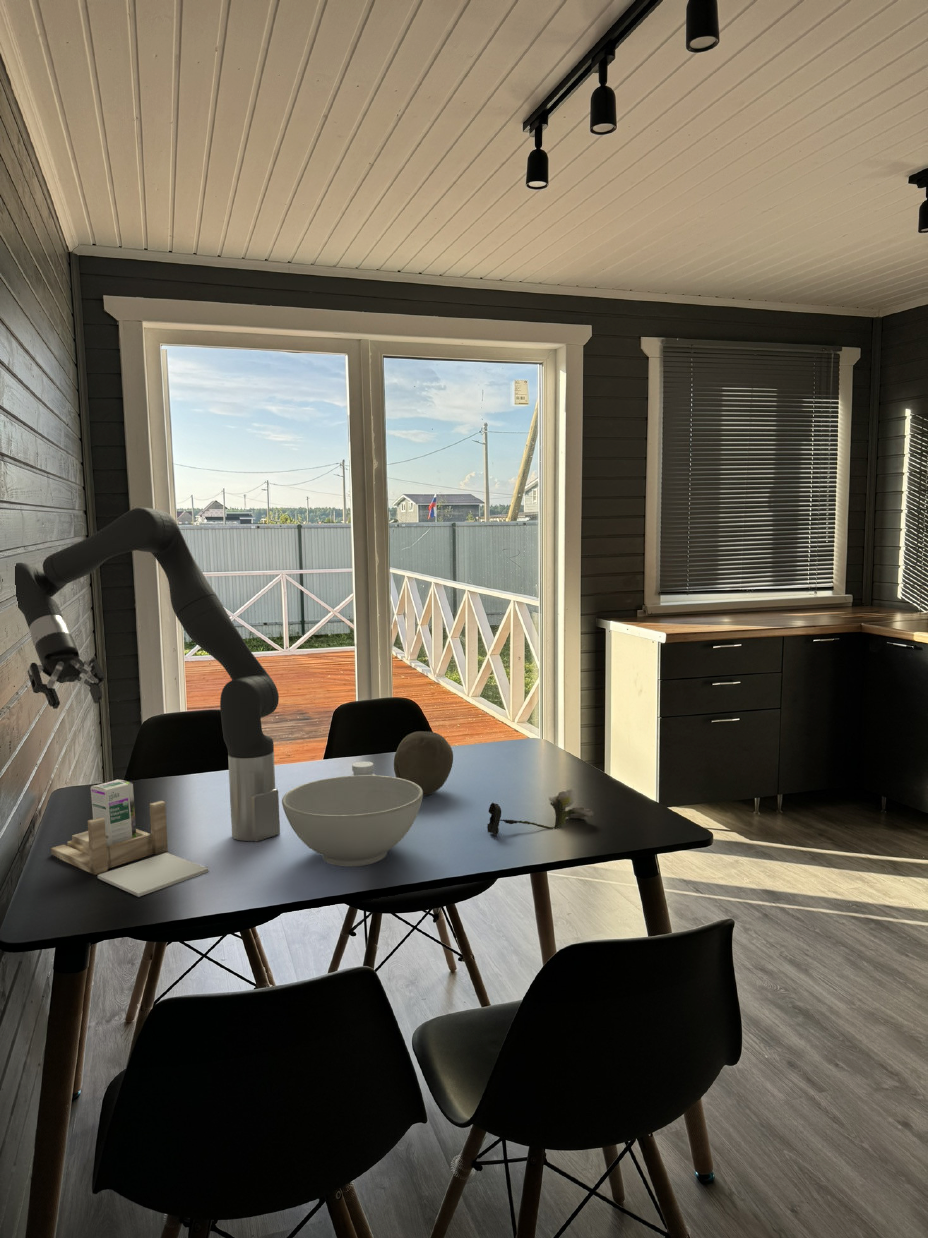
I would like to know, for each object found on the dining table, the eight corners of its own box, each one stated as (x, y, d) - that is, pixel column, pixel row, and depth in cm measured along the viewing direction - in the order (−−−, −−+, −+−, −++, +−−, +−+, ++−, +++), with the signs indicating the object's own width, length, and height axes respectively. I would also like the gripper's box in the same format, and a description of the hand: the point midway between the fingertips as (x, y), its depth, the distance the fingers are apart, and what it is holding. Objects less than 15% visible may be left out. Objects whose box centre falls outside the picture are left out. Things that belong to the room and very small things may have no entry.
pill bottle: (343, 818, 187) (341, 766, 186) (360, 809, 193) (358, 759, 192) (368, 822, 184) (366, 769, 183) (384, 813, 190) (383, 762, 189)
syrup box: (111, 863, 163) (106, 789, 161) (94, 857, 166) (90, 785, 165) (138, 854, 167) (133, 782, 166) (121, 848, 171) (117, 778, 170)
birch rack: (167, 851, 169) (165, 802, 168) (94, 875, 157) (91, 822, 156) (123, 834, 179) (120, 788, 179) (51, 855, 168) (48, 806, 167)
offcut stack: (127, 845, 173) (126, 830, 172) (84, 858, 166) (83, 843, 166) (109, 838, 177) (108, 824, 177) (66, 851, 170) (65, 836, 170)
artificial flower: (482, 834, 179) (483, 785, 181) (583, 837, 184) (583, 789, 186) (492, 836, 170) (493, 785, 173) (598, 839, 175) (598, 789, 177)
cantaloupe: (448, 803, 196) (446, 739, 194) (388, 802, 198) (386, 738, 197) (458, 786, 210) (456, 726, 208) (402, 785, 212) (400, 725, 211)
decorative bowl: (257, 857, 165) (254, 795, 164) (367, 823, 183) (365, 768, 182) (340, 895, 146) (337, 826, 144) (453, 853, 164) (451, 791, 163)
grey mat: (208, 871, 158) (208, 868, 157) (138, 897, 147) (138, 893, 147) (166, 855, 166) (166, 852, 166) (97, 878, 156) (97, 875, 155)
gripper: (23, 632, 174) (48, 697, 168) (92, 628, 184) (117, 689, 178) (13, 654, 178) (36, 719, 172) (80, 649, 188) (105, 709, 182)
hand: (78, 703), depth 175 cm, fingers open, 8 cm apart
